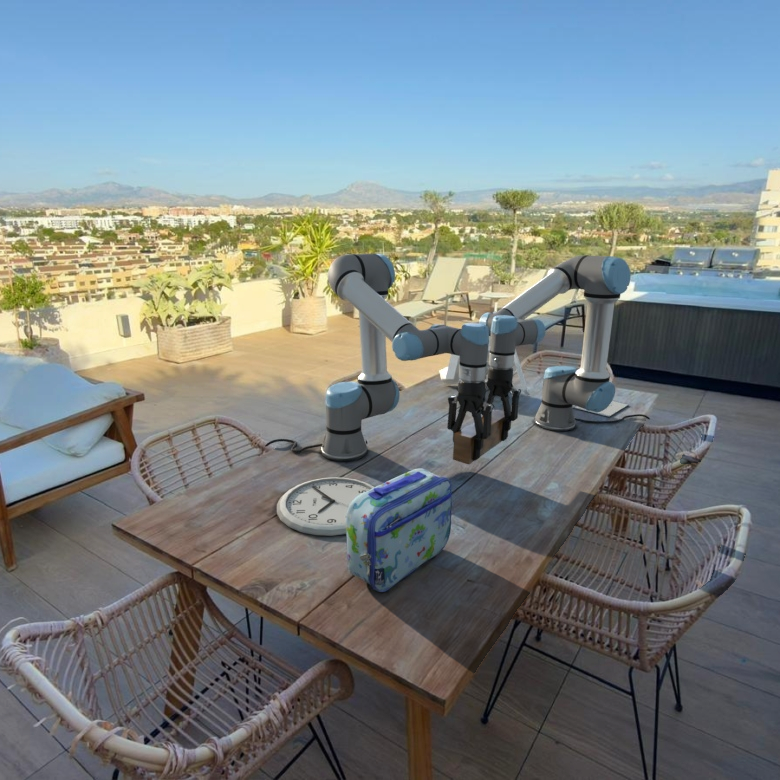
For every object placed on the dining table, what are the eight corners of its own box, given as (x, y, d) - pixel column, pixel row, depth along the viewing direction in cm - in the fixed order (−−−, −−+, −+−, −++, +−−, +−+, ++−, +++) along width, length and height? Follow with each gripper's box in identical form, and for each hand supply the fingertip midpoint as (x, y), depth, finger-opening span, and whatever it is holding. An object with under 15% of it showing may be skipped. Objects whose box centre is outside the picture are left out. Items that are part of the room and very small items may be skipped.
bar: (492, 433, 171) (494, 409, 169) (507, 437, 168) (509, 413, 166) (452, 459, 151) (454, 433, 149) (469, 464, 148) (470, 437, 146)
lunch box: (374, 604, 105) (375, 512, 99) (340, 579, 113) (339, 492, 106) (455, 552, 123) (460, 471, 117) (421, 533, 130) (424, 456, 124)
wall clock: (392, 527, 129) (268, 531, 127) (391, 533, 130) (269, 537, 127) (383, 473, 158) (282, 475, 155) (383, 478, 158) (282, 480, 156)
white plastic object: (461, 429, 252) (437, 405, 227) (444, 352, 274) (420, 323, 250) (535, 404, 240) (518, 377, 215) (510, 326, 262) (492, 293, 237)
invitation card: (608, 416, 214) (573, 407, 224) (608, 416, 214) (573, 408, 224) (628, 404, 229) (594, 396, 238) (628, 405, 229) (594, 397, 238)
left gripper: (436, 376, 148) (433, 452, 155) (496, 389, 137) (489, 469, 144) (450, 371, 153) (446, 444, 160) (508, 382, 143) (501, 460, 150)
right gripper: (468, 364, 162) (464, 433, 169) (524, 374, 152) (517, 448, 159) (479, 359, 168) (475, 427, 175) (534, 369, 157) (527, 440, 164)
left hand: (466, 455), depth 152 cm, fingers closed on bar, 5 cm apart
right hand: (495, 437), depth 167 cm, fingers closed on bar, 5 cm apart
